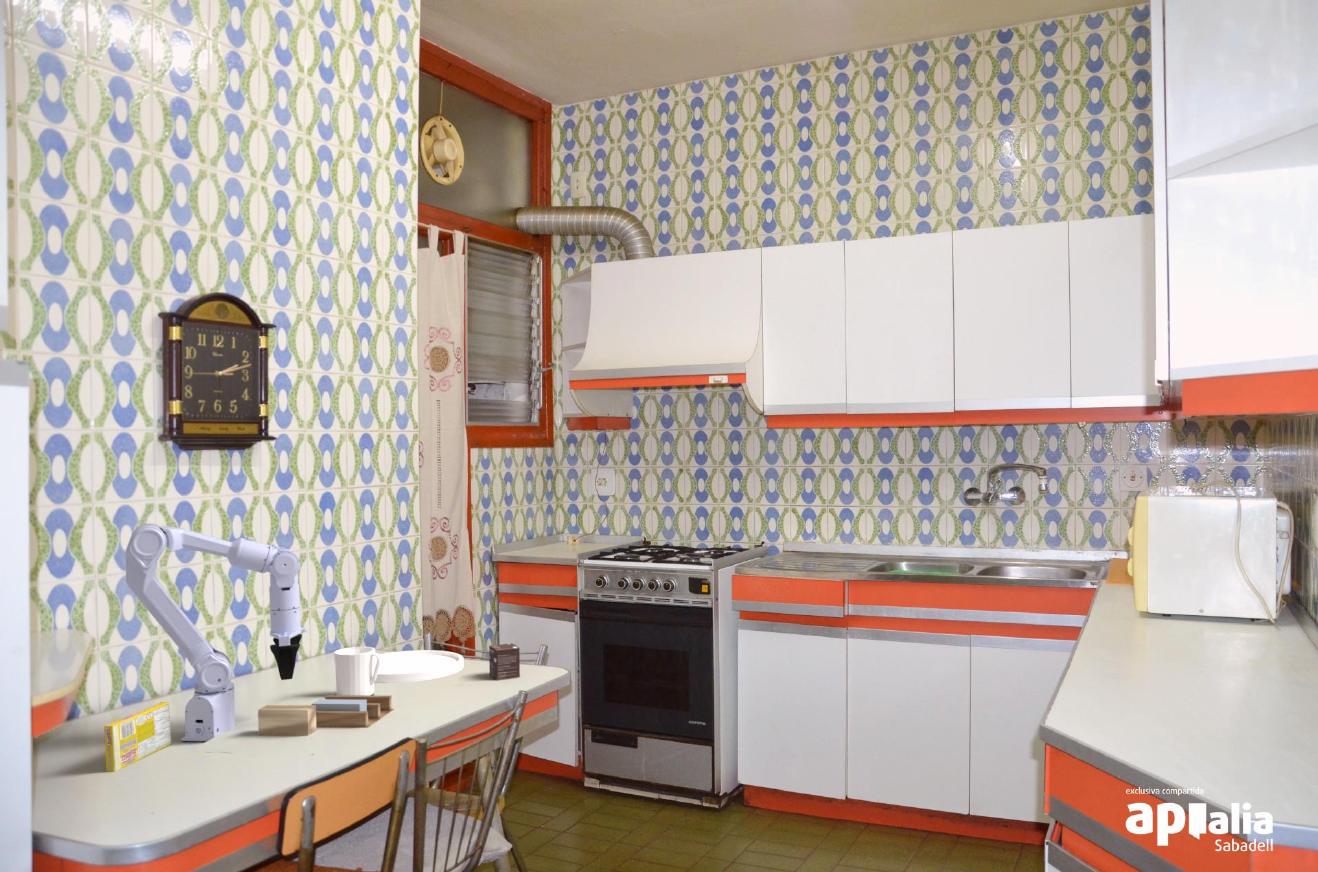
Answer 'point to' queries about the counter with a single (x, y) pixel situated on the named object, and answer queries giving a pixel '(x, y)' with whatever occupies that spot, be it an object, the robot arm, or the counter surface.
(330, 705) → the blue slat
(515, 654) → the box
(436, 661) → the plate
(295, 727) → the wooden block
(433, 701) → the counter surface
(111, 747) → the candy box
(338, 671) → the mug
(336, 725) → the rack
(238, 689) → the counter surface
